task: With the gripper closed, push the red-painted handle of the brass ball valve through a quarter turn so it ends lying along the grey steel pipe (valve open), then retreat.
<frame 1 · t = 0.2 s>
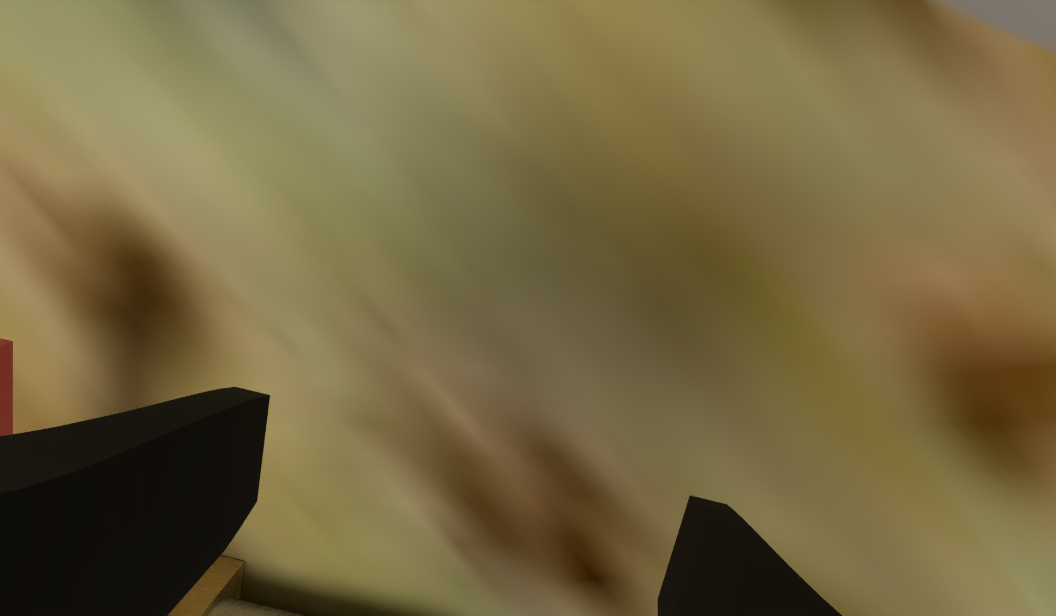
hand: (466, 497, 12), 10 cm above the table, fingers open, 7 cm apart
valve pipe: (113, 592, 25), on the table
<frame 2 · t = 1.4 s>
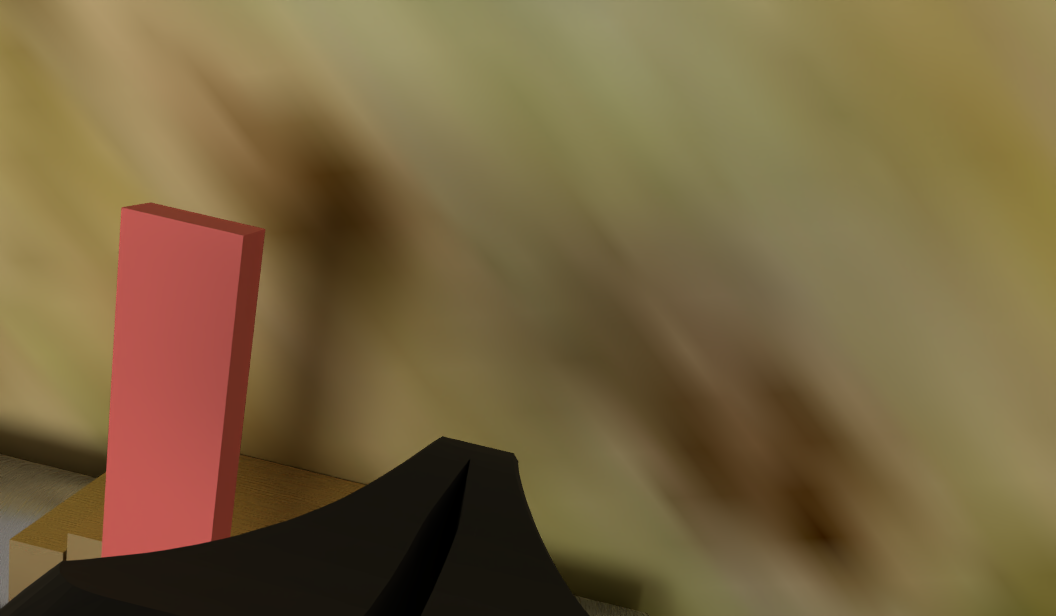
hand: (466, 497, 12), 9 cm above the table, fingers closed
lever: (169, 523, 15), point 6 cm above the table, hinge at 0.0°
valve pipe: (272, 551, 23), on the table
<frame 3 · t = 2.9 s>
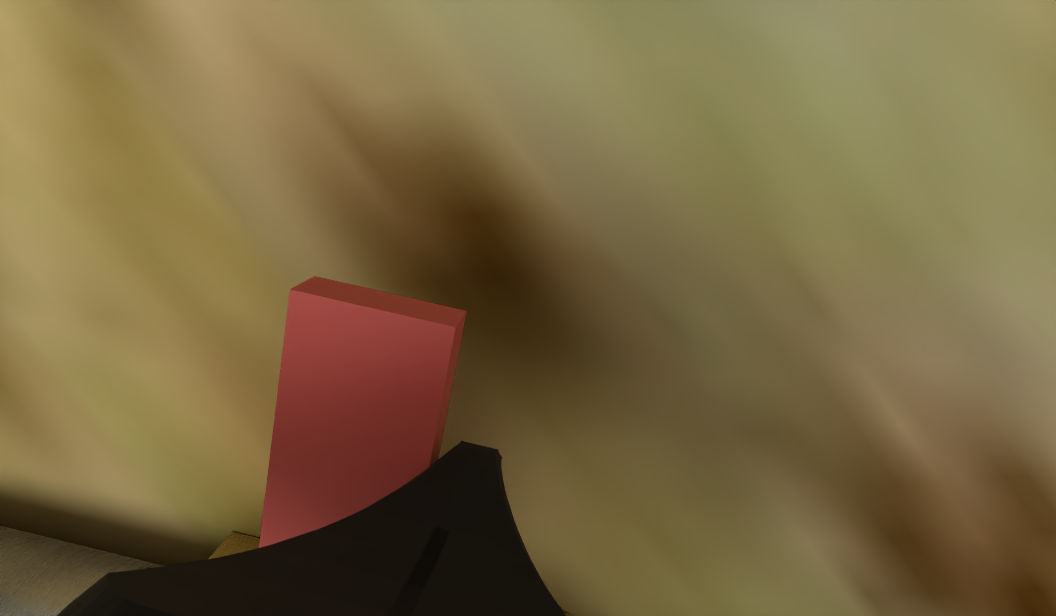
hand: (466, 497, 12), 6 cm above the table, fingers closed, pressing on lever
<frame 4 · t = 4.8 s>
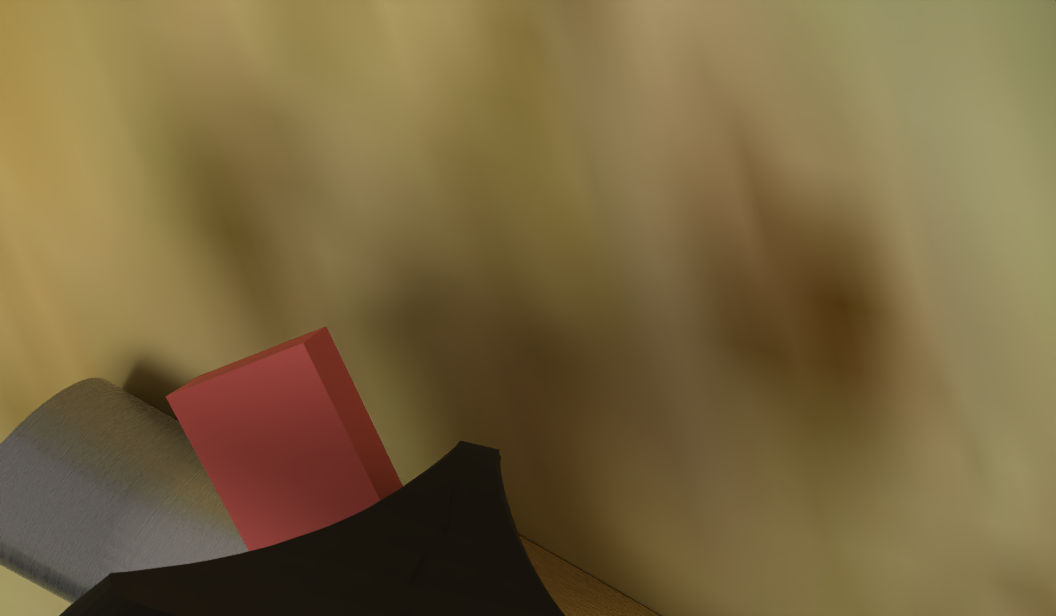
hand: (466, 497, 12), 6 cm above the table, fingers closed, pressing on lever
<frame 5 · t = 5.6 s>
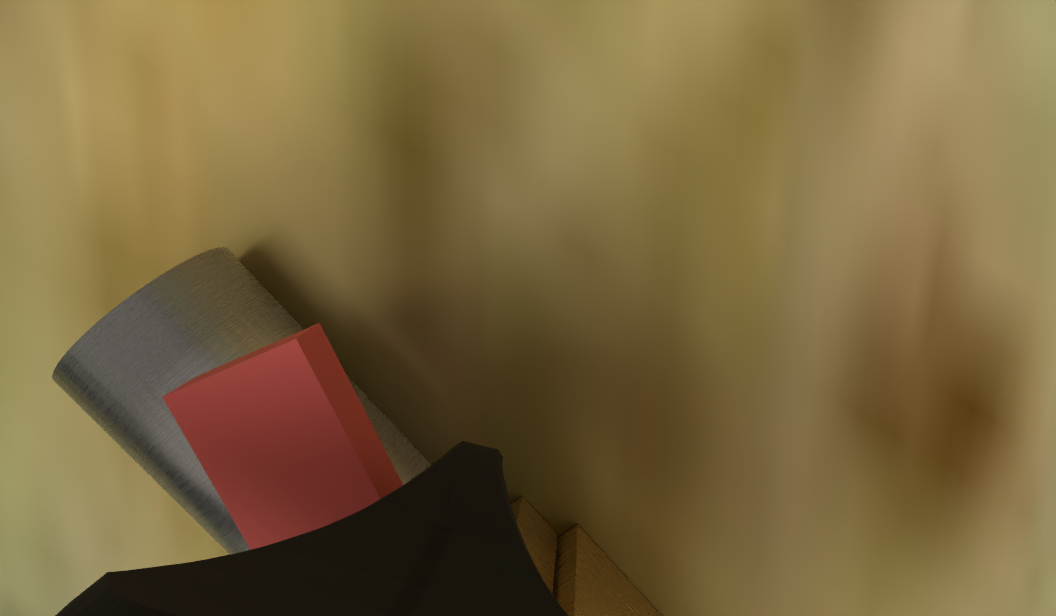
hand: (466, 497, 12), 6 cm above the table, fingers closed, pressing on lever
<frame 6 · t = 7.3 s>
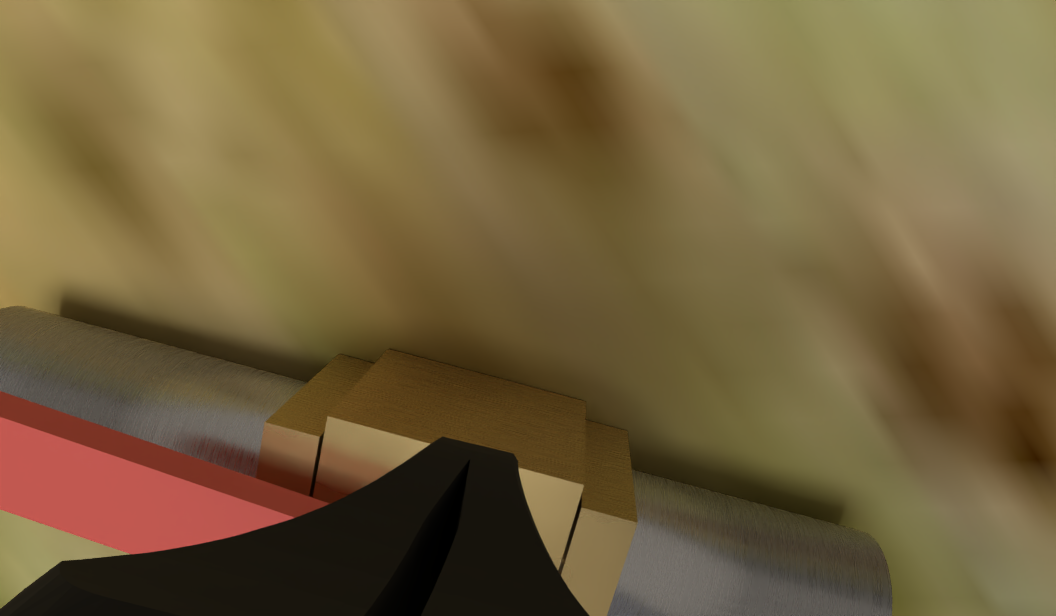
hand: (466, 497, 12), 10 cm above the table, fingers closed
lever: (212, 522, 16), point 6 cm above the table, hinge at 85.8°
valve pipe: (464, 464, 23), on the table
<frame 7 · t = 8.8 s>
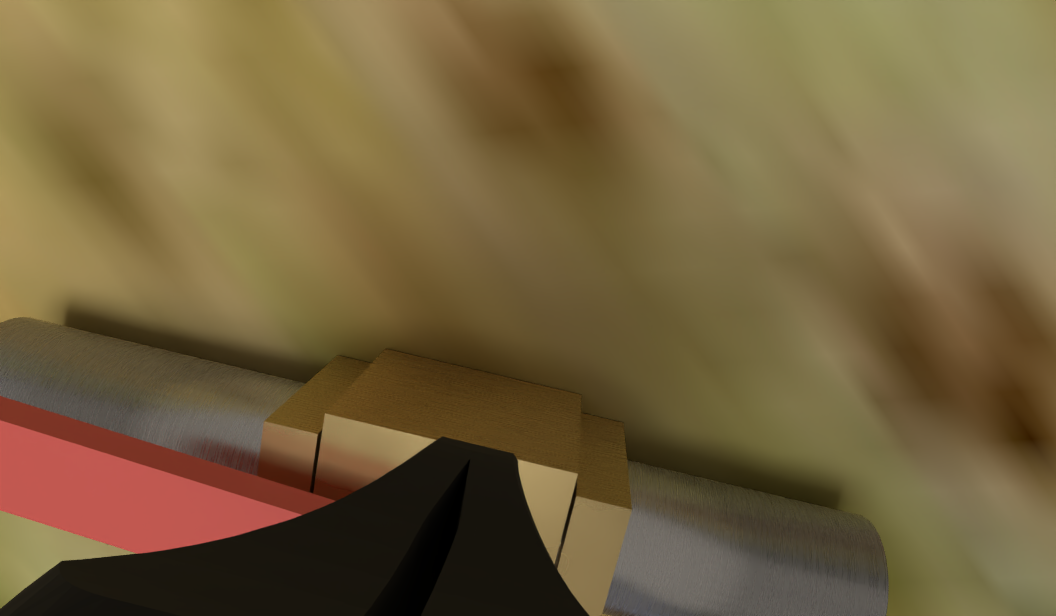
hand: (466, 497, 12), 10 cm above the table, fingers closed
lever: (215, 520, 17), point 6 cm above the table, hinge at 85.8°
valve pipe: (464, 460, 23), on the table
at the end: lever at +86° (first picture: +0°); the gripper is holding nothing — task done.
